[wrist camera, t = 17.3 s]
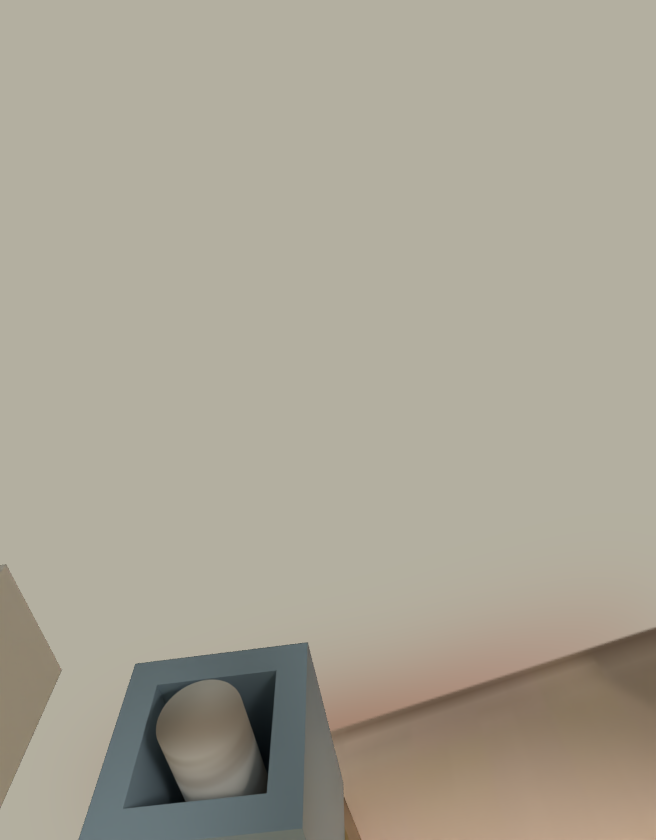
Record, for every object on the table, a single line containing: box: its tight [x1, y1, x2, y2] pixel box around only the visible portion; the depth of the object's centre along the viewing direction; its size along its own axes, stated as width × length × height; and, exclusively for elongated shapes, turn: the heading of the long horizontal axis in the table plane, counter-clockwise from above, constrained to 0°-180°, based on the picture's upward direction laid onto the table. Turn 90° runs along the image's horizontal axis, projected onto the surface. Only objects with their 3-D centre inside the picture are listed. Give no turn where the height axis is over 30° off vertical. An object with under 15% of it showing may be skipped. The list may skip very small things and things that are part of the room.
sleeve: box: [79, 643, 345, 840], centre depth 29 cm, size 8×8×11 cm
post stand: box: [156, 679, 361, 840], centre depth 30 cm, size 11×11×18 cm
